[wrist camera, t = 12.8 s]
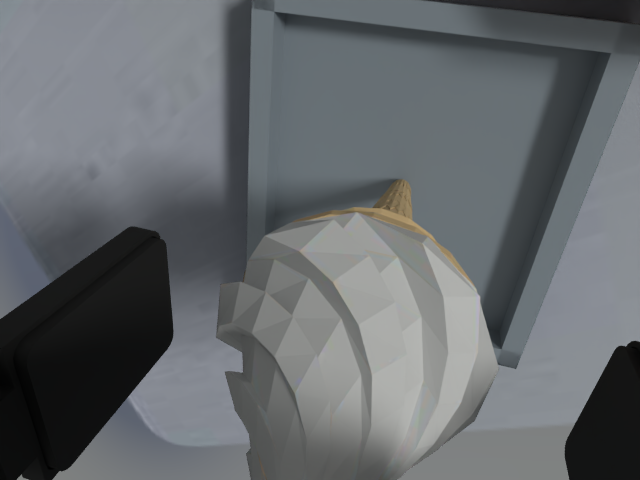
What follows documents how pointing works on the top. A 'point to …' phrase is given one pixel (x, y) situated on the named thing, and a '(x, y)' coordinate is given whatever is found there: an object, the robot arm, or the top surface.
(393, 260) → the ice cream cone
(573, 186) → the slate tray
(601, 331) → the top surface
